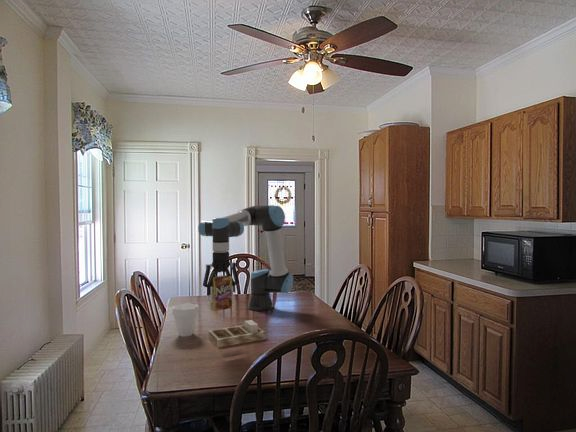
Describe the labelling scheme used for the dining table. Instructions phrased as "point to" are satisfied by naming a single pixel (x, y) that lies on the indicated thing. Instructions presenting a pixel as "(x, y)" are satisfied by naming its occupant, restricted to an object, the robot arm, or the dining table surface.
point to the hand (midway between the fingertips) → (221, 300)
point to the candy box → (222, 293)
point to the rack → (234, 336)
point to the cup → (185, 318)
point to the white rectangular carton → (250, 326)
